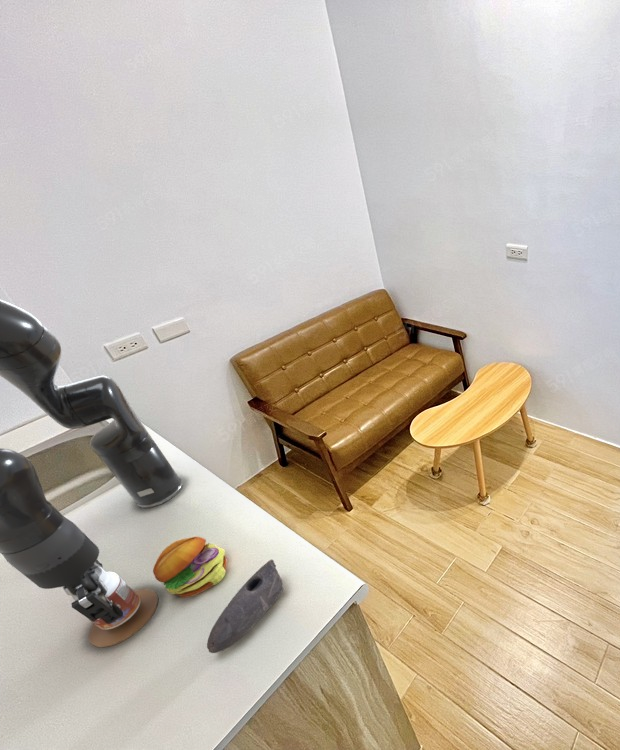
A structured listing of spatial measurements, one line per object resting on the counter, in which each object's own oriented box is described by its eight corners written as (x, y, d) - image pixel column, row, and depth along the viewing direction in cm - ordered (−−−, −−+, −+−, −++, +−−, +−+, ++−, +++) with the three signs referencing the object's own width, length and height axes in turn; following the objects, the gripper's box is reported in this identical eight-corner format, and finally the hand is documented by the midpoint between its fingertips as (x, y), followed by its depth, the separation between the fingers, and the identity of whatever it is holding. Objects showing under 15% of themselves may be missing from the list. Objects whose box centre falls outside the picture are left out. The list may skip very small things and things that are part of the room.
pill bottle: (93, 637, 68) (51, 605, 62) (105, 604, 72) (68, 571, 66) (136, 620, 70) (100, 587, 64) (146, 589, 75) (113, 556, 68)
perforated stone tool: (226, 666, 65) (208, 647, 61) (206, 652, 67) (187, 632, 63) (297, 584, 76) (286, 563, 73) (278, 573, 78) (266, 553, 74)
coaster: (86, 619, 72) (85, 618, 72) (152, 579, 78) (151, 578, 78) (93, 661, 66) (92, 660, 66) (164, 614, 72) (163, 613, 72)
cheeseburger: (203, 606, 73) (167, 577, 68) (165, 603, 76) (128, 574, 71) (243, 556, 81) (213, 527, 76) (207, 555, 84) (176, 527, 79)
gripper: (89, 561, 59) (147, 616, 68) (78, 510, 67) (131, 565, 76) (18, 600, 54) (91, 653, 63) (16, 539, 62) (80, 594, 72)
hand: (112, 604), depth 70 cm, fingers closed on pill bottle, 6 cm apart
